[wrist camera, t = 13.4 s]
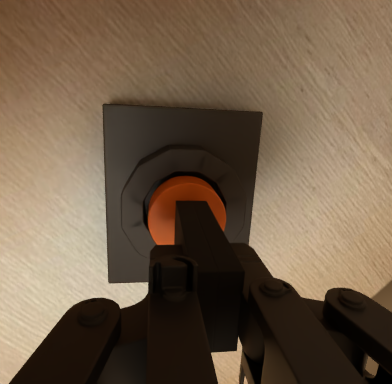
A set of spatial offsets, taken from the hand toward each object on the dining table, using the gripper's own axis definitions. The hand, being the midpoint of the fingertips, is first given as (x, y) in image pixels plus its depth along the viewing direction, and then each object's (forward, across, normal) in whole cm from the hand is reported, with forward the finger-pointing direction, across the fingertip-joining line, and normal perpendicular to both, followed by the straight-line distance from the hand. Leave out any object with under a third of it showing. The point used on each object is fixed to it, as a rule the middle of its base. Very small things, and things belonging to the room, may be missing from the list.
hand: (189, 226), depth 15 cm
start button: (+2, 0, 0) cm, 2 cm away
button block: (+6, 0, 0) cm, 6 cm away
